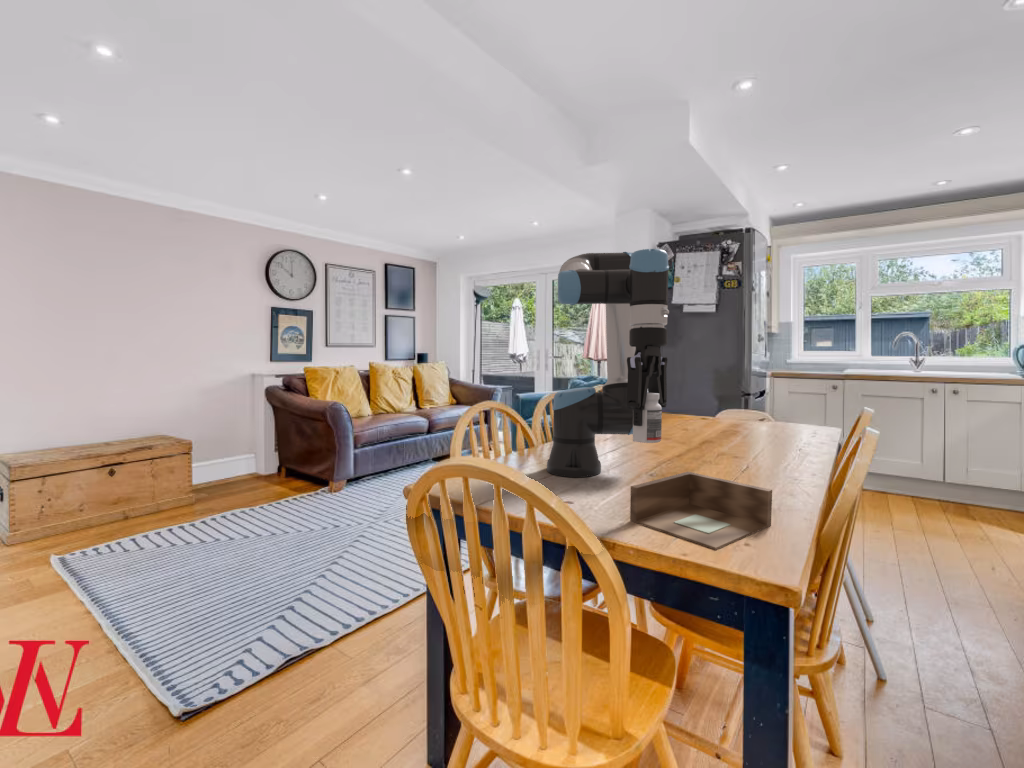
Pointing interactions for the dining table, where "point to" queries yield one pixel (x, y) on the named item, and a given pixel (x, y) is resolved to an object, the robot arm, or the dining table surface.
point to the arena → (701, 508)
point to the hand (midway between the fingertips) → (647, 439)
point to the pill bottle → (653, 418)
